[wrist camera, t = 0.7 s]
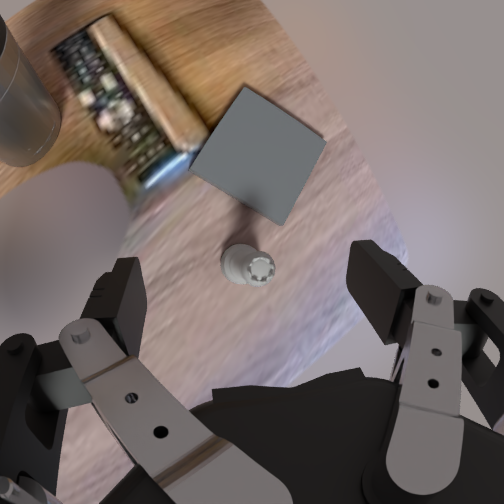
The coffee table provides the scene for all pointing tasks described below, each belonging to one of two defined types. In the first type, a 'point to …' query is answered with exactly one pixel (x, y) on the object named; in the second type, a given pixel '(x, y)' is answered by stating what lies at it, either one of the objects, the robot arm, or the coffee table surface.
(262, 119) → the slate tile
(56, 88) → the coffee table surface
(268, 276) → the rook chess piece
